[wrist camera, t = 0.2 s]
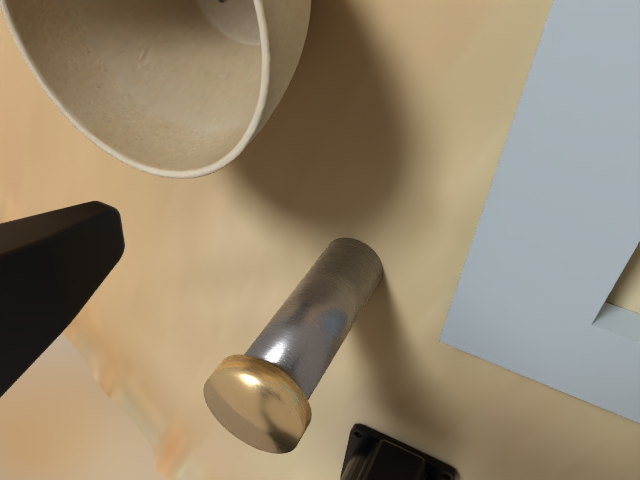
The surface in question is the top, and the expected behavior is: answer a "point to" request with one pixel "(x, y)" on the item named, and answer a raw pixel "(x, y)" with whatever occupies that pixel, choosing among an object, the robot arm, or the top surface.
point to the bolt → (294, 351)
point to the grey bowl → (163, 73)
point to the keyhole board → (563, 217)
